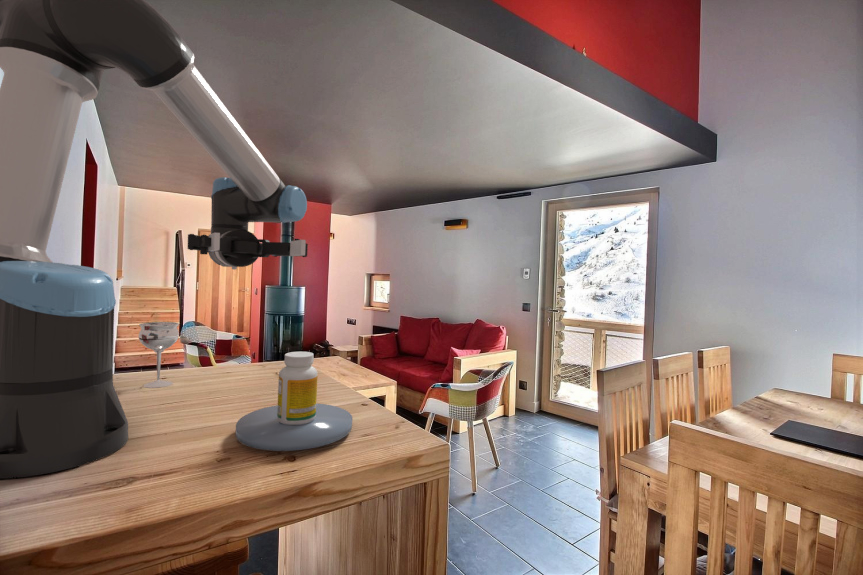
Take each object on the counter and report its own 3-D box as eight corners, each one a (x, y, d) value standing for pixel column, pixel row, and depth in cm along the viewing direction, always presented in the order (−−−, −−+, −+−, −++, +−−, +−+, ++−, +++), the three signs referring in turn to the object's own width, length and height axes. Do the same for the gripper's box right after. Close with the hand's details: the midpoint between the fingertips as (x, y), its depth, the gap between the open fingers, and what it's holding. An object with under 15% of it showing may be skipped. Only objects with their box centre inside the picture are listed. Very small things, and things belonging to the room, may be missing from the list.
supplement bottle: (268, 421, 61) (271, 354, 61) (295, 411, 66) (297, 349, 65) (298, 428, 59) (300, 359, 58) (323, 417, 63) (326, 353, 63)
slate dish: (276, 469, 51) (276, 452, 51) (214, 433, 61) (214, 419, 61) (374, 433, 63) (374, 419, 63) (309, 408, 73) (310, 397, 73)
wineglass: (157, 390, 81) (158, 327, 80) (128, 386, 82) (129, 324, 82) (186, 381, 87) (187, 323, 87) (158, 378, 89) (159, 321, 88)
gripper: (297, 269, 96) (333, 270, 78) (166, 263, 81) (174, 263, 64) (298, 235, 95) (334, 229, 78) (167, 224, 81) (175, 213, 64)
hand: (262, 244), depth 71 cm, fingers open, 13 cm apart
